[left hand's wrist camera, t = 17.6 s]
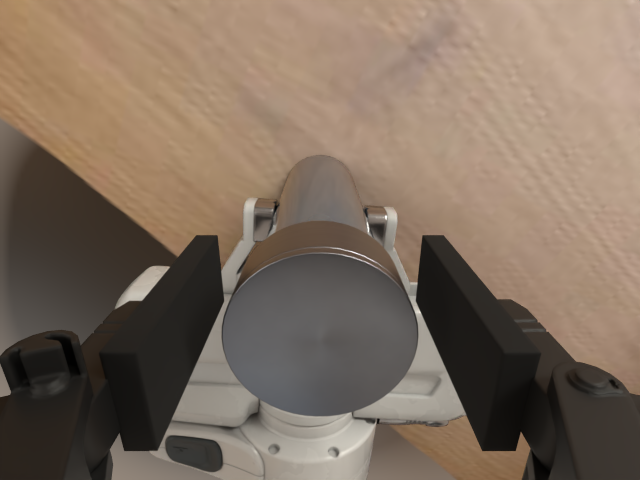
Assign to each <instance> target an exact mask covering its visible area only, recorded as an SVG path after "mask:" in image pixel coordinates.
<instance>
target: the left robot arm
mask: <svg viewBox="0 0 640 480" xmlns="http://www.w3.org/2000/svg"><path fill="white" fill-rule="evenodd" d="M223 303H224V292H223V283H222V274H221V264H220V255H219V245H218V236H217V235H196V236H195V238H194V239H193V240H192V241H191V242H190V244H189V245H188V246H187V247H186V248H185V250H184V251H183V252H182V253H181V255H180V256H179V257H178V258H177V259H176V261H175V262H174V263H173V264H172V265H171V267H170V268H169V269H168V270H167V271H166V273H165V274H164V275H163V276H162V277H161V279H160V280H159V281H158V282H157V283H156V285H155V286H154V287H153V288H152V289H151V291H150V292H149V293H148V294H147V295H146V297H145V298H144V299H143V300H142V301H128V302H126V303H125V304H123V305H121V306H120V307H118V308H116V309H115V310H113V311H112V312H111V313H110V315H109V316H108V317H107V318H106V319H105V320H104V321H103V324H100V325H99V326H98V328H97V329H96V330H95V331H94V333H92V334H91V335H90V336H89V337H88V338H87V339H86V341H85V342H84V343H83V344H82V345H81V346H80V342H79V339H78V336H77V335H76V334H75V333H73V332H72V331H65V330H56V331H47V332H43V333H39V334H36V335H32V336H30V337H28V338H25V339H23V340H21V341H18V342H17V343H15V344H14V345H12V346H11V347H9V348H8V349H6V350H5V351H4V352H3V353H2V355H1V356H0V364H1V367H2V369H3V372H4V374H5V377H6V380H7V382H8V385H9V387H10V390H11V394H10V395H8V396H4V397H0V480H111V478H112V469H113V462H112V456H111V452H110V448H111V446H112V445H113V443H114V441H115V439H116V438H117V436H118V434H119V433H120V436H121V440H122V444H123V448H124V451H158V449H159V447H160V444H161V442H162V440H163V438H164V435H165V433H166V431H167V429H168V427H169V424H170V422H171V420H172V418H173V415H174V413H175V411H176V409H177V406H178V404H179V402H180V400H181V397H182V395H183V393H184V391H185V388H186V386H187V384H188V382H189V379H190V377H191V375H192V373H193V370H194V368H195V366H196V364H197V362H198V359H199V357H200V355H201V353H202V350H203V348H204V346H205V344H206V341H207V339H208V337H209V335H210V332H211V330H212V328H213V326H214V323H215V321H216V319H217V317H218V314H219V312H220V310H221V308H222V305H223ZM416 303H417V305H418V308H419V310H420V312H421V314H422V317H423V319H424V321H425V323H426V326H427V328H428V330H429V332H430V335H431V337H432V339H433V341H434V344H435V346H436V348H437V350H438V353H439V355H440V357H441V359H442V362H443V364H444V366H445V368H446V370H447V373H448V375H449V377H450V379H451V382H452V384H453V386H454V388H455V391H456V393H457V395H458V397H459V400H460V402H461V404H462V406H463V409H464V411H465V413H466V415H467V418H468V420H469V422H470V424H471V427H472V429H473V431H474V433H475V435H476V438H477V440H478V442H479V444H480V447H481V449H482V451H516V448H517V444H518V440H519V436H520V433H521V432H522V434H523V436H524V437H525V439H526V441H527V442H528V444H529V446H530V448H531V449H530V452H529V456H528V459H527V463H526V467H525V470H524V474H523V477H522V480H640V395H635V394H631V393H629V391H628V390H627V389H626V387H625V386H624V385H623V384H622V382H620V381H619V380H618V379H616V378H615V377H614V376H612V375H611V374H610V373H608V372H606V371H604V370H602V369H600V368H598V367H595V366H592V365H588V364H585V363H581V362H576V361H575V360H574V359H573V358H572V357H571V356H570V355H569V354H568V353H567V352H566V350H565V349H564V348H563V347H562V346H561V345H560V344H559V343H558V342H557V341H556V340H555V339H554V338H553V337H552V335H551V334H550V333H549V332H546V329H545V328H544V327H543V326H542V325H541V324H540V323H538V322H537V319H536V318H535V317H534V316H533V315H532V314H531V313H530V312H529V311H528V310H527V309H526V308H524V307H523V306H521V305H519V304H518V303H516V302H514V301H513V300H497V299H496V298H495V297H494V295H493V294H492V293H491V292H490V291H489V289H488V288H487V287H486V286H485V285H484V283H483V282H482V281H481V280H480V279H479V277H478V276H477V275H476V274H475V273H474V271H473V270H472V269H471V268H470V267H469V265H468V264H467V263H466V262H465V261H464V259H463V258H462V257H461V256H460V255H459V253H458V252H457V251H456V250H455V248H454V247H453V246H452V245H451V244H450V242H449V241H448V240H447V239H446V238H445V236H444V235H423V236H422V245H421V255H420V264H419V274H418V283H417V292H416Z"/></svg>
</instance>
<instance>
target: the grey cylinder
mask: <svg viewBox="0 0 640 480" xmlns="http://www.w3.org/2000/svg"><path fill="white" fill-rule="evenodd" d="M308 221H332V222H338V223H343V224H347V225H349V226H352V227H355V228H357V229H359V230H361V231H363V232H365V233H367V234H368V235H370V236H371V237H372V238H374V236H373V233H372V231H371V228H370V225H369V222H368V220H367V217H366V214H365V211H364V208H363V206H362V203H361V200H360V197H359V195H358V192H357V189H356V186H355V184H354V181H353V178H352V176H351V173H350V172H349V170H348V169H347V168H346V166H345V165H344V164H343V163H341V162H340V161H338V160H337V159H335V158H332V157H329V156H324V155H316V156H311V157H307V158H305V159H303V160H301V161H300V162H299V163H297V164H296V165H295V166H294V167H293V168H292V170H291V171H290V173H289V175H288V177H287V180H286V183H285V186H284V189H283V191H282V194H281V197H280V200H279V202H278V205H277V208H276V211H275V214H274V216H273V219H272V222H271V225H270V228H269V230H268V233H267V236H266V238H268V237H269V236H270V235H272V234H273V233H275V232H277V231H279V230H280V229H283V228H285V227H288V226H290V225H294V224H297V223H301V222H308Z"/></svg>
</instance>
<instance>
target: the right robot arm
mask: <svg viewBox="0 0 640 480" xmlns="http://www.w3.org/2000/svg"><path fill="white" fill-rule="evenodd" d="M276 208H277V200H273V199H261V198H248V199H247V200H246V202H245V204H244V210H243V235H242V237H241V238H240V240H239V242H238V243H237V245H236V246H235V248H234V249H233V251H232V253H231V254H230V256H229V258H228V259H227V261H226V263H225V265H224V267H223V269H222V270H221V274H222V283H223V292H224V303H223V305H222V308H221V310H220V312H219V314H218V317H217V319H216V321H215V323H214V326H213V328H212V330H211V332H210V335H209V337H208V339H207V341H206V344H205V346H204V348H203V350H202V353H201V355H200V357H199V359H198V362H197V364H196V366H195V368H194V370H193V373H192V375H191V377H190V379H189V382H188V384H187V386H186V388H185V391H184V393H183V395H182V397H181V400H180V402H179V404H178V406H177V409H176V411H175V413H174V415H173V418H172V420H171V422H170V424H169V427H168V429H167V431H166V433H165V435H164V438H163V440H162V442H161V444H160V447H159V449H158V451H149V452H150V453H151V454H152V455H154V456H155V457H157V458H160V459H163V460H166V461H170V462H173V463H177V464H180V465H183V466H187V467H190V468H193V469H196V470H199V471H202V472H205V473H208V474H210V475H213V476H215V477H218V478H220V479H222V480H367V476H368V471H369V466H370V460H371V454H372V448H373V441H374V436H375V430H376V425H377V424H390V425H410V424H425V425H426V426H431V427H441V426H447V425H448V423H449V420H455V419H458V418H461V417H463V416H467V415H466V413H465V411H464V409H463V406H462V404H461V402H460V400H459V397H458V395H457V393H456V391H455V388H454V386H453V384H452V382H451V379H450V377H449V375H448V373H447V370H446V368H445V366H444V364H443V362H442V359H441V357H440V355H439V353H438V350H437V348H436V346H435V344H434V341H433V339H432V337H431V335H430V332H429V330H428V328H427V326H426V323H425V321H424V319H423V317H422V314H421V312H420V310H419V308H418V305H417V303H416V292H417V283H418V282H409V280H408V277H407V275H406V273H405V270H404V268H403V266H402V264H401V261H400V259H399V257H398V255H397V252H396V250H395V248H394V242H395V235H396V229H397V213H396V211H395V210H394V208H393V207H382V206H365V207H364V211H365V214H366V217H367V220H368V222H369V225H370V228H371V231H372V233H373V236H374V239H375V240H376V241H377V242H378V243H379V244H381V245H382V246H383V247H384V249H385V250H386V251H387V252H388V254H389V255H390V257H391V258H392V260H393V262H394V263H395V266H396V268H397V270H398V273H399V275H400V278H401V280H402V282H403V285H404V287H405V289H406V292H407V294H408V296H409V299H410V301H411V304H412V306H413V309H414V311H415V314H416V318H417V323H418V334H419V335H418V346H417V350H416V354H415V357H414V360H413V362H412V364H411V367H410V368H409V370H408V372H407V373H406V375H405V376H404V378H403V379H402V380H401V381H400V383H399V384H398V385H397V386H396V387H395V388H394V389H393V390H392V391H391V392H390V393H388V394H387V395H386V396H384V397H383V398H382V399H380V400H378V401H377V402H375V403H373V404H371V405H369V406H367V407H365V408H363V409H360V410H357V411H354V412H351V413H346V414H342V415H336V416H323V417H315V416H304V415H298V414H293V413H289V412H286V411H283V410H280V409H277V408H275V407H273V406H270V405H269V404H267V403H265V402H263V401H261V400H260V399H258V398H257V397H256V396H254V395H253V394H251V393H250V392H249V391H248V390H247V389H246V388H245V387H244V386H243V385H242V384H241V383H240V382H239V380H238V379H237V378H236V377H235V375H234V373H233V372H232V370H231V369H230V367H229V364H228V362H227V360H226V357H225V354H224V350H223V345H222V338H221V337H222V323H223V317H224V314H225V311H226V308H227V305H228V303H229V301H230V298H231V296H232V294H233V291H234V289H235V286H236V284H237V282H238V279H239V277H240V275H241V272H242V270H243V268H244V265H245V264H246V262H247V260H248V258H249V256H248V254H249V253H250V251H251V249H252V248H253V246H254V245H255V243H256V241H261V242H262V241H264V240H265V239H266V236H267V233H268V230H269V228H270V225H271V222H272V219H273V216H274V214H275V211H276ZM169 268H170V267H167V266H152V267H150V268H148V269H147V270H145V271H144V272H143V273H142V274H141V275H140V276H139V277H138V278H137V279H135V280H134V281H133V282H132V283H131V284H130V286H129V287H128V288H127V289H126V290H125V291H124V293H123V294H122V295H121V297H120V298H119V300H118V302H117V304H116V307H115V309H116V308H118V307H120V306H121V305H123V304H125V303H126V302H128V301H142V300H143V299H144V298H145V297H146V295H147V294H148V293H149V292H150V291H151V289H152V288H153V287H154V286H155V285H156V283H157V282H158V281H159V280H160V279H161V277H162V276H163V275H164V274H165V273H166V271H167V270H168V269H169Z"/></svg>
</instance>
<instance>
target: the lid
mask: <svg viewBox="0 0 640 480" xmlns="http://www.w3.org/2000/svg"><path fill="white" fill-rule="evenodd" d="M418 335H419V334H418V323H417V318H416V314H415V311H414V309H413V306H412V304H411V301H410V299H409V296H408V294H407V292H406V289H405V287H404V285H403V282H402V280H401V278H400V275H399V273H398V270H397V268H396V266H395V263H394V262H393V260H392V258H391V257H390V255H389V254H388V252H387V251H386V250H385V249H384V247H383V246H382V245H381V244H379V243H378V242H377V241H376V240H375V239H374V238H372V237H371V236H370V235H368V234H367V233H365V232H363V231H361V230H359V229H357V228H355V227H352V226H349V225H347V224H343V223H338V222H332V221H308V222H301V223H297V224H294V225H290V226H288V227H285V228H283V229H280V230H279V231H277V232H275V233H273V234H272V235H270V236H269V237H268V238H266V239H265V240H264V241H262V242H261V243H260V244H259V245H258V246H257V247H256V248H255V250H254V251H253V252H252V254H251V255H250V256H249V258H248V260H247V262H246V264H245V265H244V268H243V270H242V272H241V275H240V277H239V279H238V282H237V284H236V286H235V289H234V291H233V294H232V296H231V298H230V301H229V303H228V305H227V308H226V311H225V314H224V317H223V323H222V337H221V338H222V345H223V350H224V354H225V357H226V360H227V362H228V364H229V367H230V369H231V370H232V372H233V373H234V375H235V377H236V378H237V379H238V380H239V382H240V383H241V384H242V385H243V386H244V387H245V388H246V389H247V390H248V391H249V392H250V393H251V394H253V395H254V396H256V397H257V398H258V399H260V400H261V401H263V402H265V403H267V404H269V405H270V406H273V407H275V408H277V409H280V410H283V411H286V412H289V413H293V414H298V415H304V416H315V417H323V416H336V415H342V414H346V413H351V412H354V411H357V410H360V409H363V408H365V407H367V406H369V405H371V404H373V403H375V402H377V401H378V400H380V399H382V398H383V397H384V396H386V395H387V394H388V393H390V392H391V391H392V390H393V389H394V388H395V387H396V386H397V385H398V384H399V383H400V381H401V380H402V379H403V378H404V376H405V375H406V373H407V372H408V370H409V368H410V367H411V364H412V362H413V360H414V357H415V354H416V350H417V346H418Z"/></svg>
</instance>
